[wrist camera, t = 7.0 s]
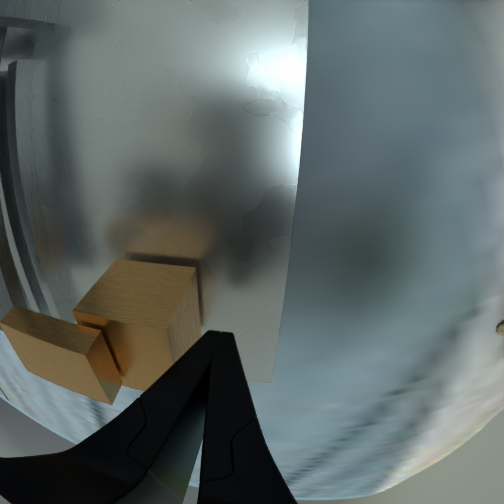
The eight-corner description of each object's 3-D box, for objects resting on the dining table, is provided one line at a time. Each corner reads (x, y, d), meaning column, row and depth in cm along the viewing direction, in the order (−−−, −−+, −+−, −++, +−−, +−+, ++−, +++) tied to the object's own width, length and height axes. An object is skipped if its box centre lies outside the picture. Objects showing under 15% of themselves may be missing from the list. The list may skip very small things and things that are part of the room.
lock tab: (196, 267, 9) (151, 362, 6) (201, 337, 11) (173, 427, 7) (58, 252, 10) (-6, 312, 6) (78, 313, 11) (32, 377, 8)
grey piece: (302, -34, 7) (316, -132, 1) (274, 331, 15) (267, 442, 9) (14, 32, 8) (-72, 36, 2) (44, 294, 16) (-9, 356, 10)
